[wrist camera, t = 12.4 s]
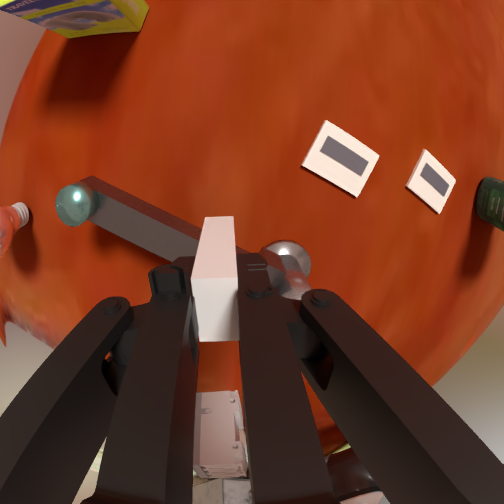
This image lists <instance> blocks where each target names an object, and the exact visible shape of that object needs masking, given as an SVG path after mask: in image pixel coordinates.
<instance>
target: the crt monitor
mask: <svg viewBox="0 0 504 504" xmlns="http://www.w3.org/2000/svg"><path fill="white" fill-rule="evenodd" d="M246 475H247V476H246V477H245V476H240V477H230V478H209V479H208V480H209V481H208V482H205V483H202V484H198V485H195V486H193V504H252V495H251V485H250V475H249V464H248V463H247V471H246Z"/></svg>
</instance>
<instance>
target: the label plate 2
mask: <svg viewBox="0 0 504 504" xmlns="http://www.w3.org/2000/svg"><path fill="white" fill-rule="evenodd" d="M455 181H456V180H455V179H454V178H453V176H452V175H451V174H450V173H449V172H448V171H447V170H446V169H445V168H444V167H443V166H442V165H441V164H440V163H439V162H438V161H437V160H436V159H435V158H434V157H433V156H432V155H431V154H430V153H429V152H428V151H427V150H426V149H423V151H422V153H421V156H420V158H419V160H418V162H417V164H416V166H415V168H414V170H413V172H412V174H411V176H410V178H409V180H408V182H407V184H406V186H407V187H408V188H409V189H410V190H411V191H413V192H414V193H415V194H416V195H418V196H419V197H420V198H421V199H422V200H423V201H425V202H426V203H427V204H428V205H429V206H430V207H432V208H433V209H434V210H435V211H436V212H437V213H439V214H440V212H441V210H442V208H443V206H444V204H445V202H446V200H447V198H448V196H449V194H450V192H451V190H452V188H453V186H454V184H455Z"/></svg>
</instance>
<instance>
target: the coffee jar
mask: <svg viewBox="0 0 504 504" xmlns="http://www.w3.org/2000/svg"><path fill="white" fill-rule="evenodd" d="M476 211H477V215H478V216H479V217H480V218H481V219H483V220H485V221H486V222H488V223H490V224H492V225H493V226H495V227H497V228H499V229H501V230H502V231H504V181H501V180H498V179H496V178H493V177H486V178H484V179H483V181H482V183H481V185H480V187H479V190H478V193H477V199H476Z"/></svg>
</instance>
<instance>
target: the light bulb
mask: <svg viewBox="0 0 504 504" xmlns="http://www.w3.org/2000/svg"><path fill="white" fill-rule="evenodd" d="M28 220H29V211H28V208H27V207H26V206H25V204H23V203H21V202H19V203H16V204H14V205H12V206H6V207H2V206H0V259H1V258H2V257H3V256H4V255H5V254H6V253H7V251H8V249H9V248H10V245H11V242H12V239H13V236H14V234H15V233H16V232H17V231H18V229H19V228H21V227H22V226H24V225H26V224H27V222H28Z"/></svg>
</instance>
